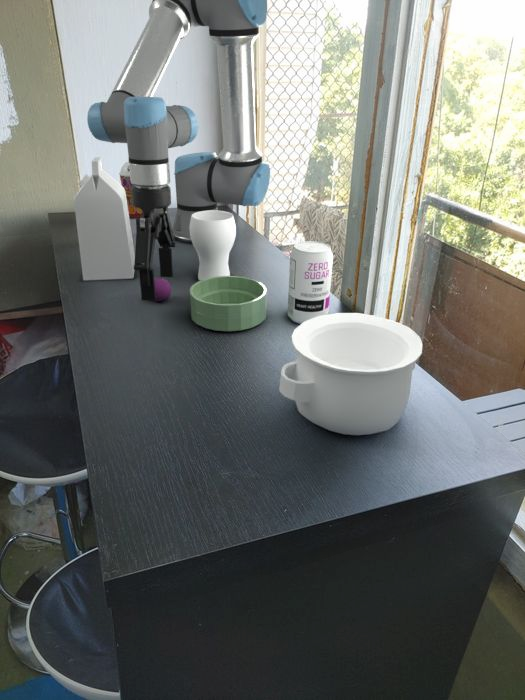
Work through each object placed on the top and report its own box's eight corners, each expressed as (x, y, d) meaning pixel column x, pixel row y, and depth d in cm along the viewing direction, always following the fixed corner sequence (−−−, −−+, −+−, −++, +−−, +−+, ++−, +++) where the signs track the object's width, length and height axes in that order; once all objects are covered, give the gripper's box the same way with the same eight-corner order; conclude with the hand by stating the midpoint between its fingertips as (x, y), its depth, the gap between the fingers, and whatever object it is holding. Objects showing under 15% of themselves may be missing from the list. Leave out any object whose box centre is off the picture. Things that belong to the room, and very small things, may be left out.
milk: (133, 278, 124) (121, 163, 112) (83, 280, 122) (64, 164, 110) (135, 261, 134) (124, 155, 122) (89, 263, 133) (73, 155, 120)
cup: (229, 288, 120) (229, 223, 113) (185, 283, 122) (182, 219, 114) (240, 272, 129) (240, 211, 122) (199, 268, 131) (197, 208, 124)
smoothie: (119, 218, 171) (112, 153, 161) (129, 211, 178) (123, 149, 168) (144, 219, 170) (138, 154, 160) (153, 213, 177) (148, 150, 167)
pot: (311, 467, 67) (318, 387, 62) (257, 397, 81) (258, 327, 75) (444, 426, 76) (461, 352, 70) (374, 369, 89) (383, 303, 83)
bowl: (199, 299, 114) (198, 273, 111) (269, 304, 112) (270, 277, 110) (183, 331, 101) (181, 302, 98) (261, 336, 99) (262, 307, 96)
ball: (152, 295, 115) (150, 274, 113) (174, 296, 115) (173, 275, 113) (145, 304, 111) (143, 282, 109) (168, 305, 111) (166, 283, 108)
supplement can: (305, 306, 112) (309, 237, 105) (335, 318, 107) (342, 247, 100) (279, 316, 107) (281, 245, 100) (309, 330, 102) (314, 256, 95)
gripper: (150, 173, 113) (157, 267, 123) (108, 197, 91) (121, 309, 101) (184, 174, 112) (189, 269, 122) (150, 199, 90) (159, 312, 100)
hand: (158, 287), depth 111 cm, fingers open, 13 cm apart
